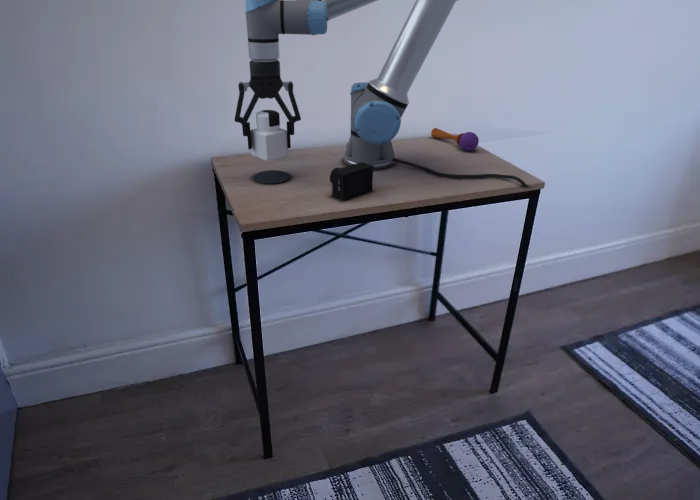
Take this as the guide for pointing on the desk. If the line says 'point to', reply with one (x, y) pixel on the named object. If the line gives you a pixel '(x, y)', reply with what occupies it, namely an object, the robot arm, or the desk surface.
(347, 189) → the digital camera
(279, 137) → the medicine bottle
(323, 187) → the desk surface
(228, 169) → the desk surface
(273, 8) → the robot arm
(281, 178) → the coaster
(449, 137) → the maraca
